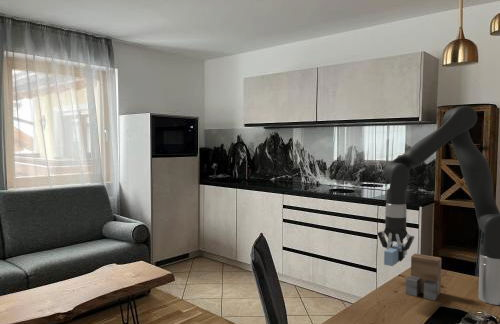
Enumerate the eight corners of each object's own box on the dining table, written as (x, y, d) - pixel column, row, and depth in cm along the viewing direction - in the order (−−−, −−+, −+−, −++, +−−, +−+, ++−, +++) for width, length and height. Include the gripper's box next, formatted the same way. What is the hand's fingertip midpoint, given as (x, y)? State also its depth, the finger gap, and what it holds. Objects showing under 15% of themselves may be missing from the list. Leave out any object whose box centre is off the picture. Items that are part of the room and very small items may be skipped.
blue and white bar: (401, 253, 157) (401, 241, 157) (408, 254, 155) (409, 242, 155) (384, 264, 142) (384, 251, 142) (392, 266, 140) (392, 252, 140)
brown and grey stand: (413, 286, 159) (414, 253, 158) (441, 292, 152) (442, 258, 152) (405, 293, 151) (406, 258, 151) (434, 300, 145) (435, 264, 144)
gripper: (418, 215, 145) (417, 261, 145) (381, 211, 154) (380, 254, 154) (411, 218, 139) (411, 265, 140) (374, 214, 148) (373, 258, 149)
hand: (395, 259), depth 147 cm, fingers closed on blue and white bar, 3 cm apart
